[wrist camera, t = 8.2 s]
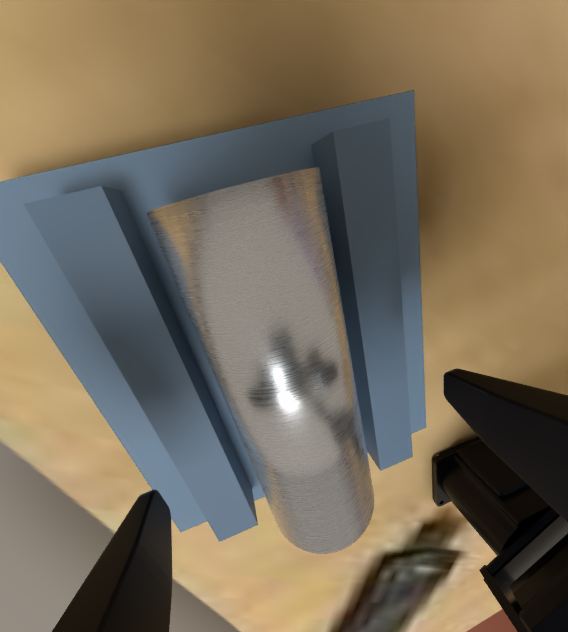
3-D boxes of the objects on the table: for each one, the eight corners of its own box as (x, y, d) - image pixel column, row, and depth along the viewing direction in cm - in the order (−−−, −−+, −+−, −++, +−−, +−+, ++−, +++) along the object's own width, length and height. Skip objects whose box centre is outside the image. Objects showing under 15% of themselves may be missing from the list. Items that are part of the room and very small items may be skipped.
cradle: (397, 399, 21) (450, 451, 16) (184, 484, 18) (177, 574, 14) (371, 114, 13) (456, 65, 9) (15, 196, 11) (-116, 186, 7)
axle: (347, 437, 16) (396, 527, 12) (265, 467, 16) (283, 573, 11) (294, 178, 11) (349, 156, 6) (165, 212, 10) (118, 215, 6)
